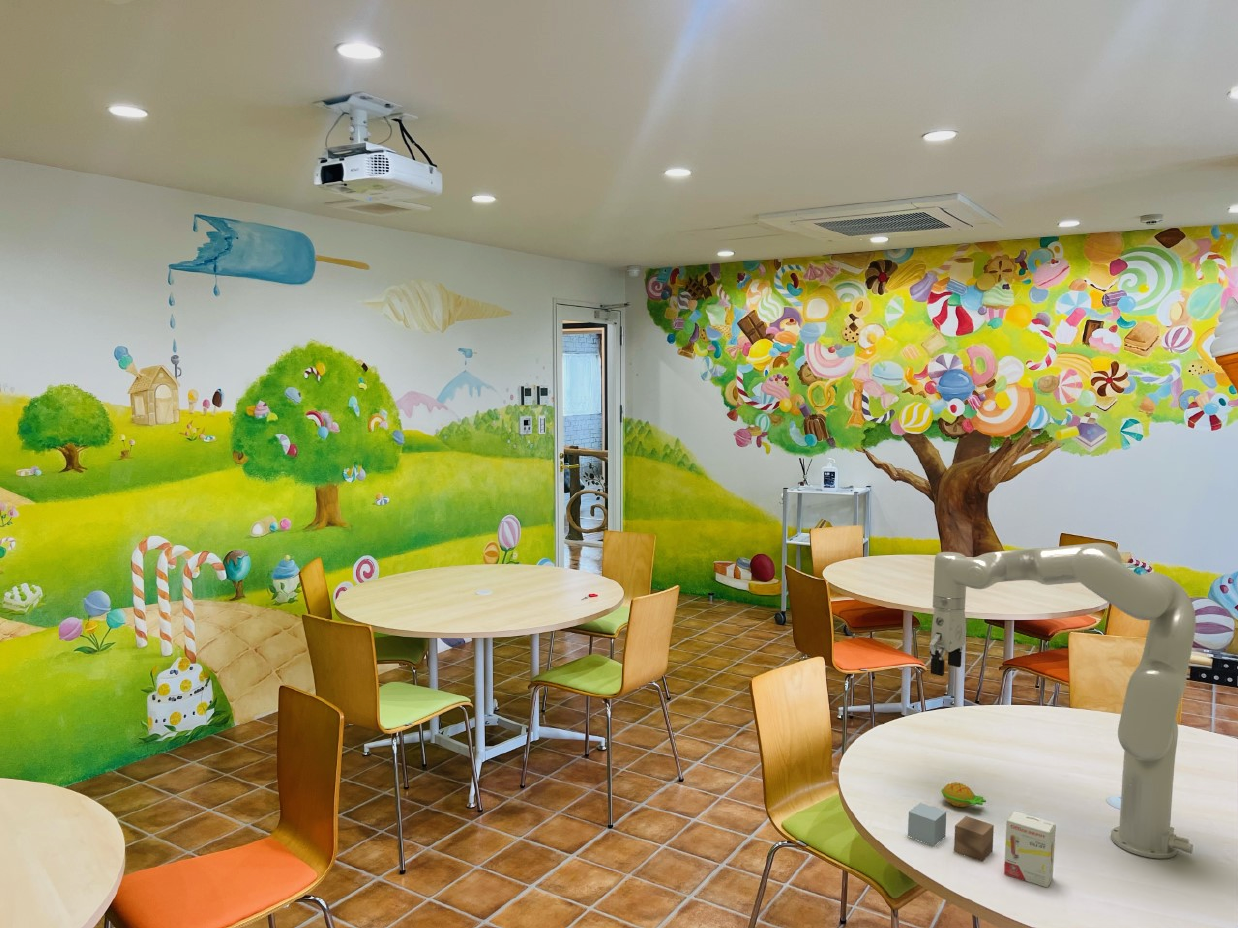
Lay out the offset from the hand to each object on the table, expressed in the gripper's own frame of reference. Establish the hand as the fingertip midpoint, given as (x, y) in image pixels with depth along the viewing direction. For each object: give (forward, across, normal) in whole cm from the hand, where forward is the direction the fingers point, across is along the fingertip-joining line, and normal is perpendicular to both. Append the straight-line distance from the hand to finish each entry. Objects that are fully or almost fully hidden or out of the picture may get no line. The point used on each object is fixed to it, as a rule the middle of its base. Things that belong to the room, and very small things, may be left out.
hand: (945, 670), depth 221 cm
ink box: (+30, -28, -31) cm, 51 cm away
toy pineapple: (+30, -7, -9) cm, 32 cm away
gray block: (+30, -27, -9) cm, 41 cm away
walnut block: (+30, -26, -19) cm, 44 cm away
